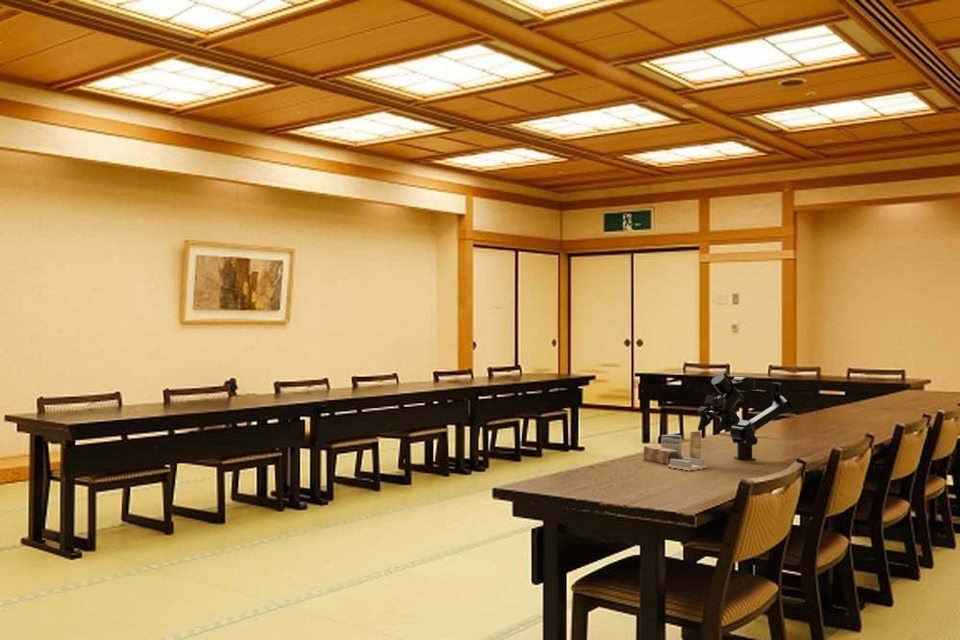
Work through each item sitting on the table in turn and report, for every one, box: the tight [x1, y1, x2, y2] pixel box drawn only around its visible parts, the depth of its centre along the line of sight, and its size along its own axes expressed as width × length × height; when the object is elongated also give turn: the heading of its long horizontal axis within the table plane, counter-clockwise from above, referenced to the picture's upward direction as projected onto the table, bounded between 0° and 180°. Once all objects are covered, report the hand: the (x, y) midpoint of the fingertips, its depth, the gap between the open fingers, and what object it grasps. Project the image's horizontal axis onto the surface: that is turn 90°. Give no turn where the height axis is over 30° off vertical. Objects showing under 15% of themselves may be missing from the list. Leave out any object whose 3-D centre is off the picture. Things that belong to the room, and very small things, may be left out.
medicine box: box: [660, 434, 683, 458], centre depth 365 cm, size 8×4×9 cm, turn 73°
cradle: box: [667, 456, 707, 472], centre depth 336 cm, size 10×10×3 cm
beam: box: [643, 445, 680, 465], centre depth 352 cm, size 16×5×5 cm, turn 24°
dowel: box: [689, 430, 702, 459], centre depth 346 cm, size 4×4×12 cm
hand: (706, 431), depth 349 cm, fingers open, 9 cm apart
